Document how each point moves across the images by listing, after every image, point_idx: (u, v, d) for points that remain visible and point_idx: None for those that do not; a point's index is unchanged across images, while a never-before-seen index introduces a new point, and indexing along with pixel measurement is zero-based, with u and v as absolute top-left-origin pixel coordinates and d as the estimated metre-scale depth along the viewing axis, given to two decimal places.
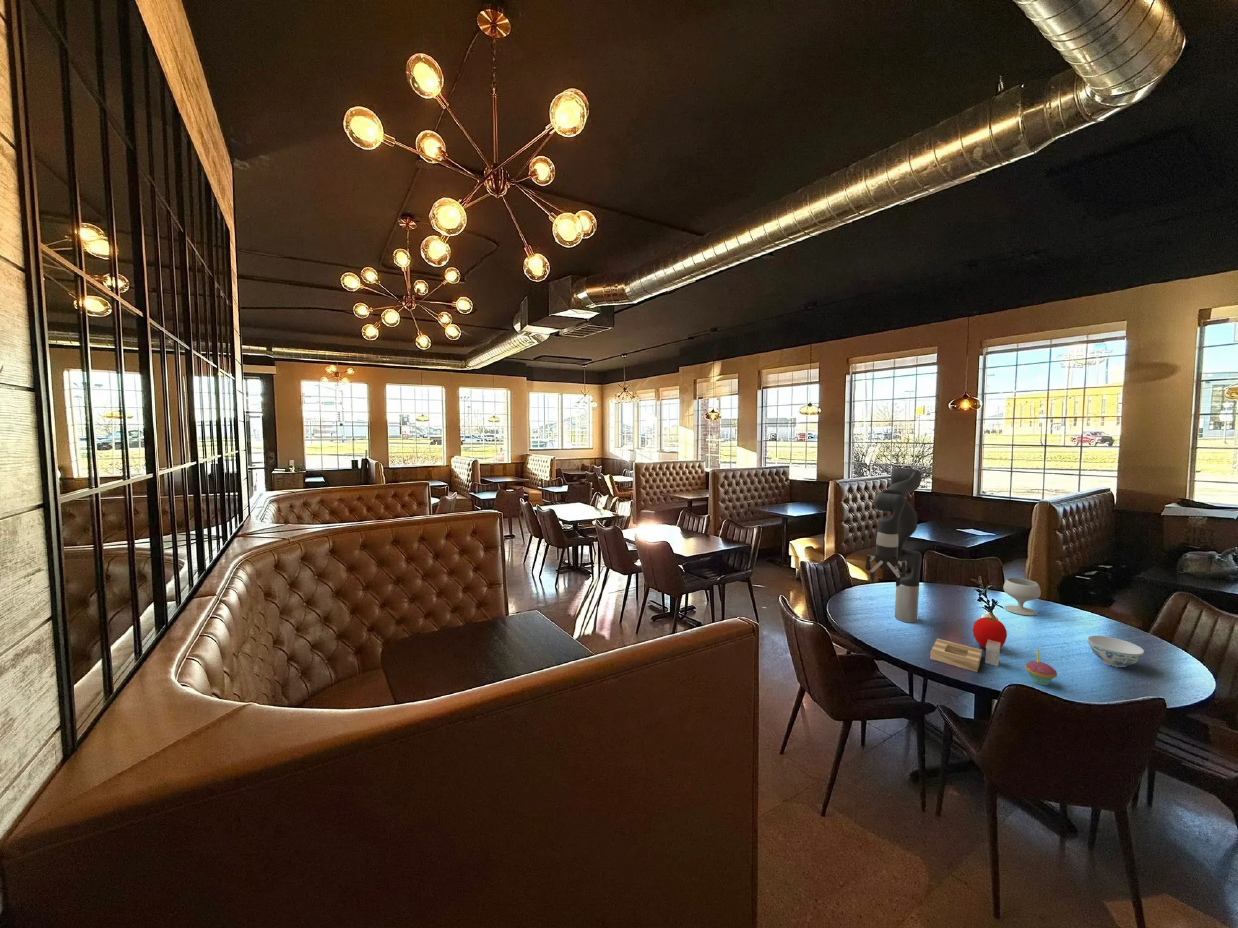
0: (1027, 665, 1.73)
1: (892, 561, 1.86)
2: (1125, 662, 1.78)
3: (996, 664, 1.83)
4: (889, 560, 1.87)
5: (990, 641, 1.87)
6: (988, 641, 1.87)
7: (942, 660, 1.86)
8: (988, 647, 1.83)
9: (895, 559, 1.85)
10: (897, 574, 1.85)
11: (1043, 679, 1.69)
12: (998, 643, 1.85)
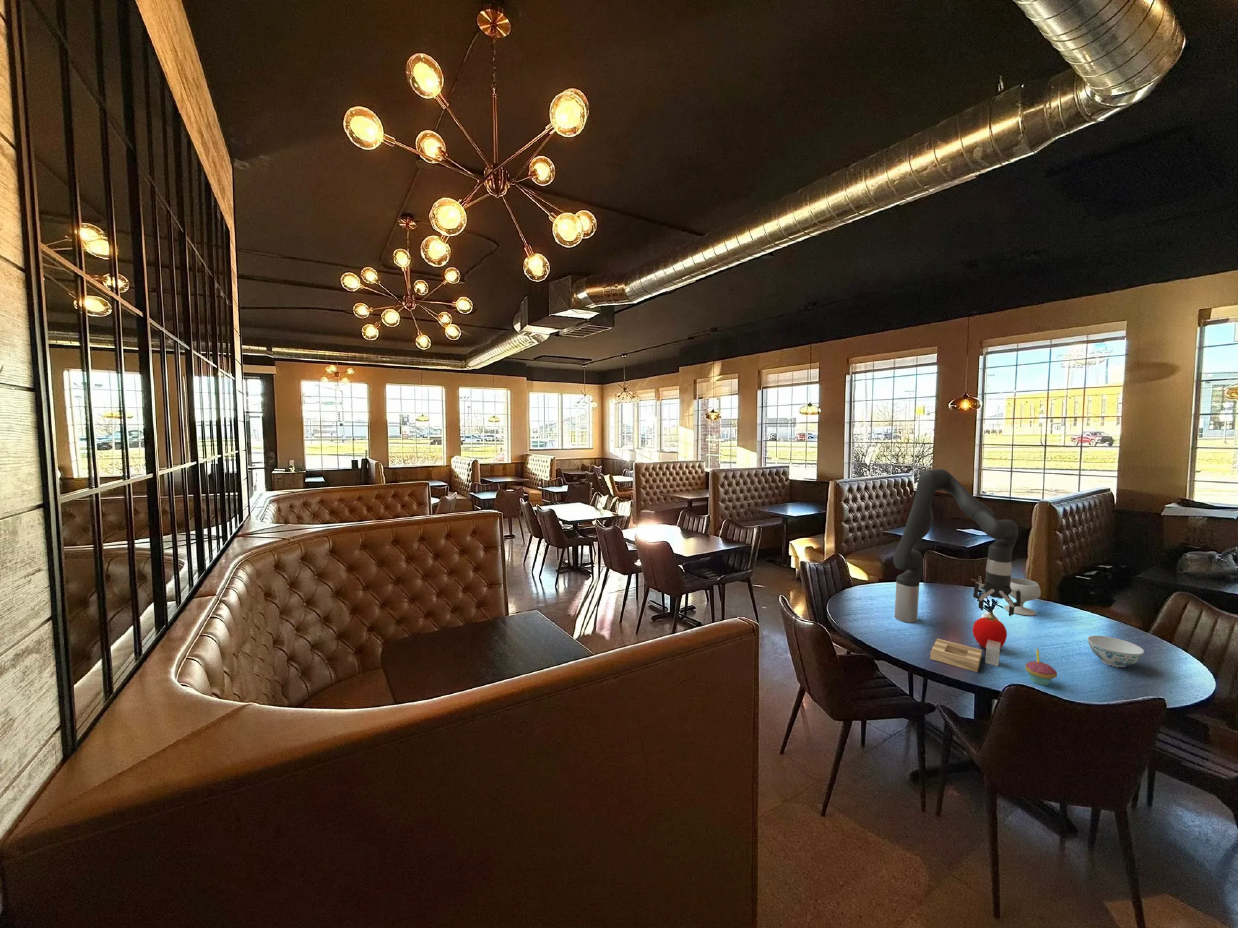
0: (1027, 665, 1.73)
1: (1005, 590, 1.80)
2: (1125, 662, 1.78)
3: (996, 664, 1.83)
4: (1001, 589, 1.81)
5: (990, 641, 1.87)
6: (988, 641, 1.87)
7: (942, 660, 1.86)
8: (988, 647, 1.83)
9: (1008, 588, 1.79)
10: (1011, 603, 1.79)
11: (1043, 679, 1.69)
12: (998, 643, 1.85)
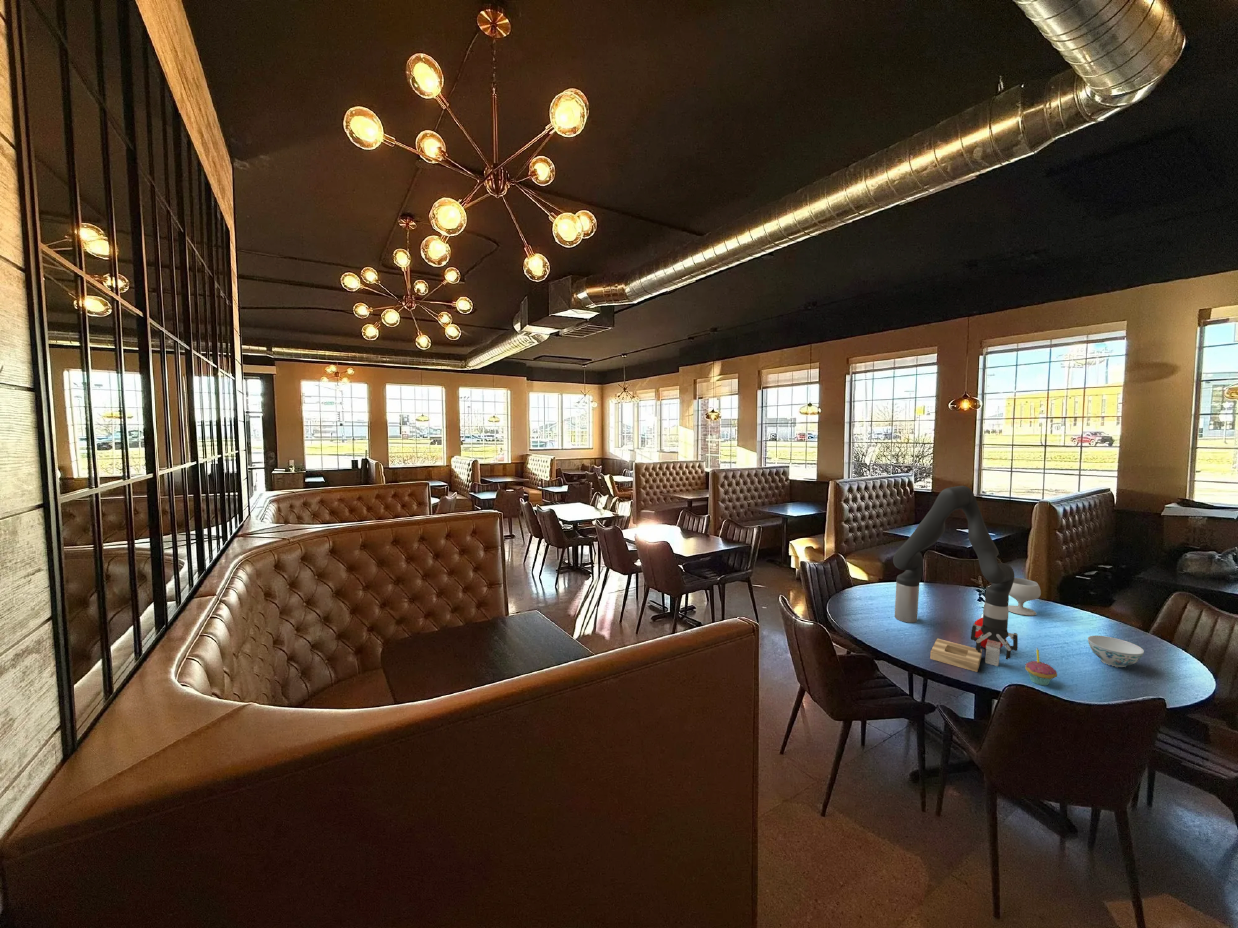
0: (1027, 665, 1.73)
1: (1002, 633, 1.82)
2: (1125, 662, 1.78)
3: (996, 664, 1.83)
4: (998, 632, 1.82)
5: (990, 641, 1.87)
6: (988, 641, 1.87)
7: (942, 660, 1.86)
8: (988, 647, 1.83)
9: (1005, 631, 1.81)
10: (1007, 647, 1.81)
11: (1043, 679, 1.69)
12: (998, 643, 1.85)
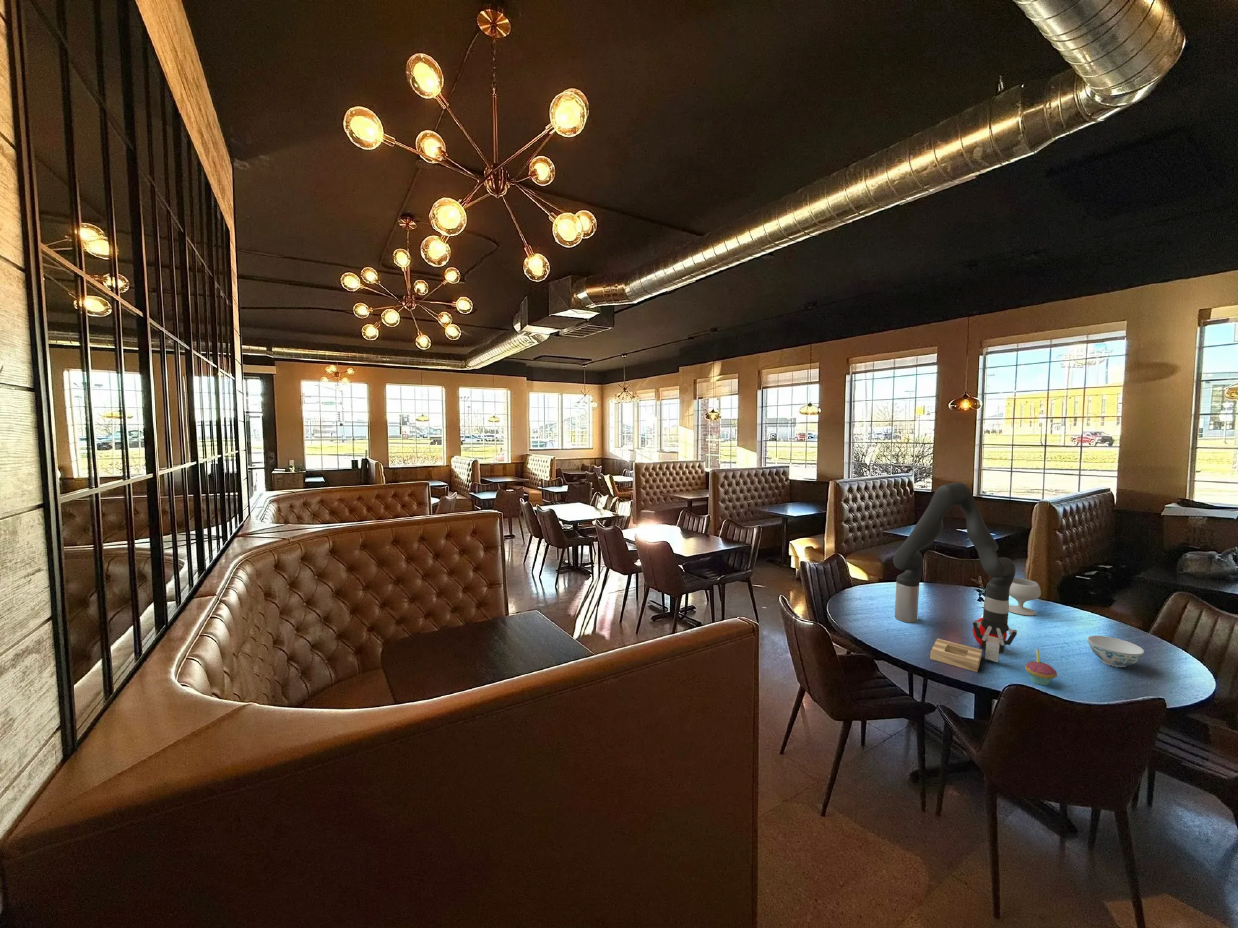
0: (1027, 665, 1.73)
1: (1002, 627, 1.82)
2: (1125, 662, 1.78)
3: (996, 660, 1.83)
4: (999, 626, 1.82)
5: (990, 637, 1.87)
6: (988, 637, 1.87)
7: (942, 660, 1.86)
8: (988, 643, 1.83)
9: (1005, 625, 1.81)
10: (1002, 641, 1.82)
11: (1043, 679, 1.69)
12: (998, 639, 1.85)
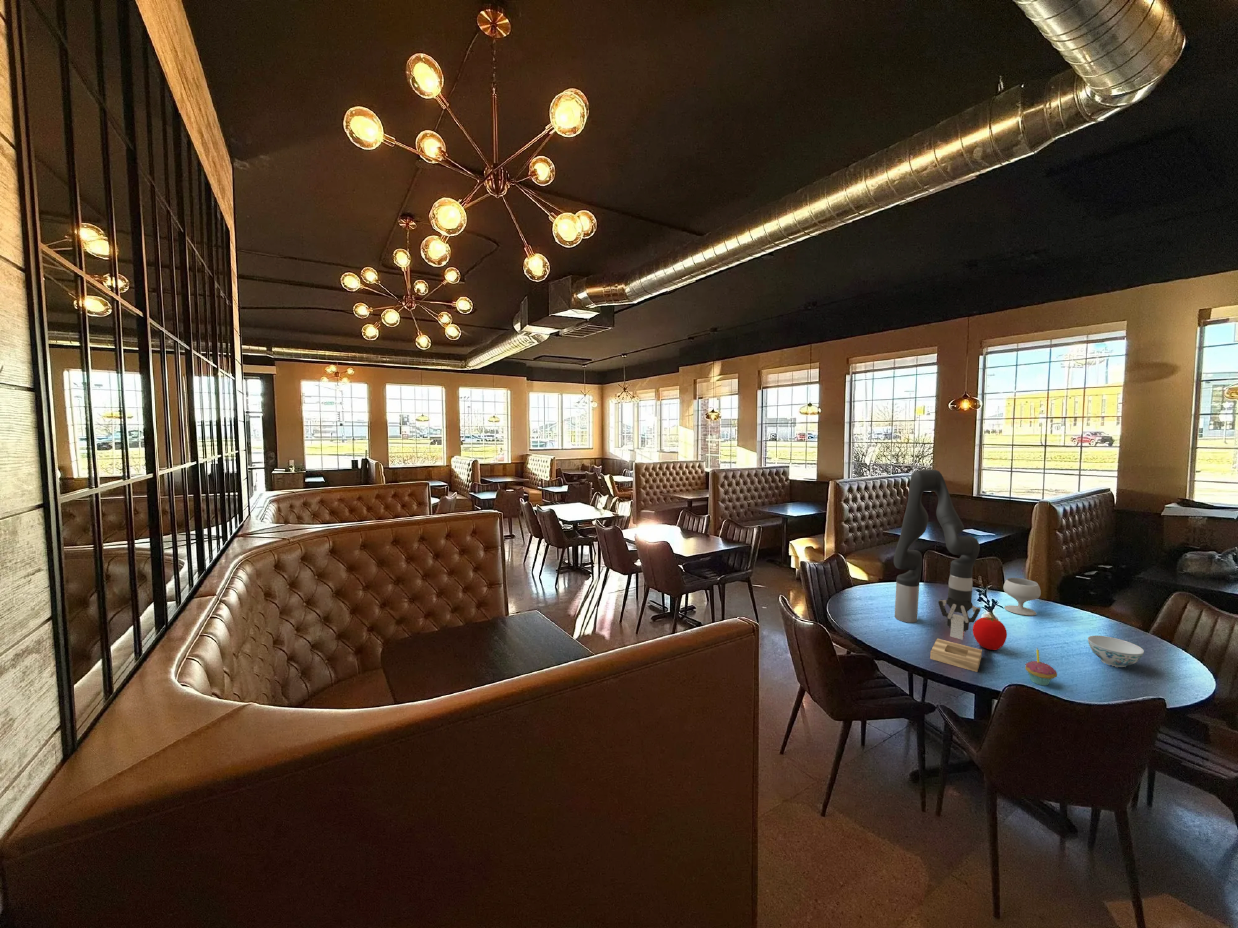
0: (1027, 665, 1.73)
1: (966, 604, 1.84)
2: (1125, 662, 1.78)
3: (960, 637, 1.86)
4: (963, 603, 1.85)
5: (956, 615, 1.90)
6: (954, 615, 1.90)
7: (942, 660, 1.86)
8: (953, 620, 1.86)
9: (969, 603, 1.84)
10: (966, 619, 1.85)
11: (1043, 679, 1.69)
12: (963, 617, 1.88)
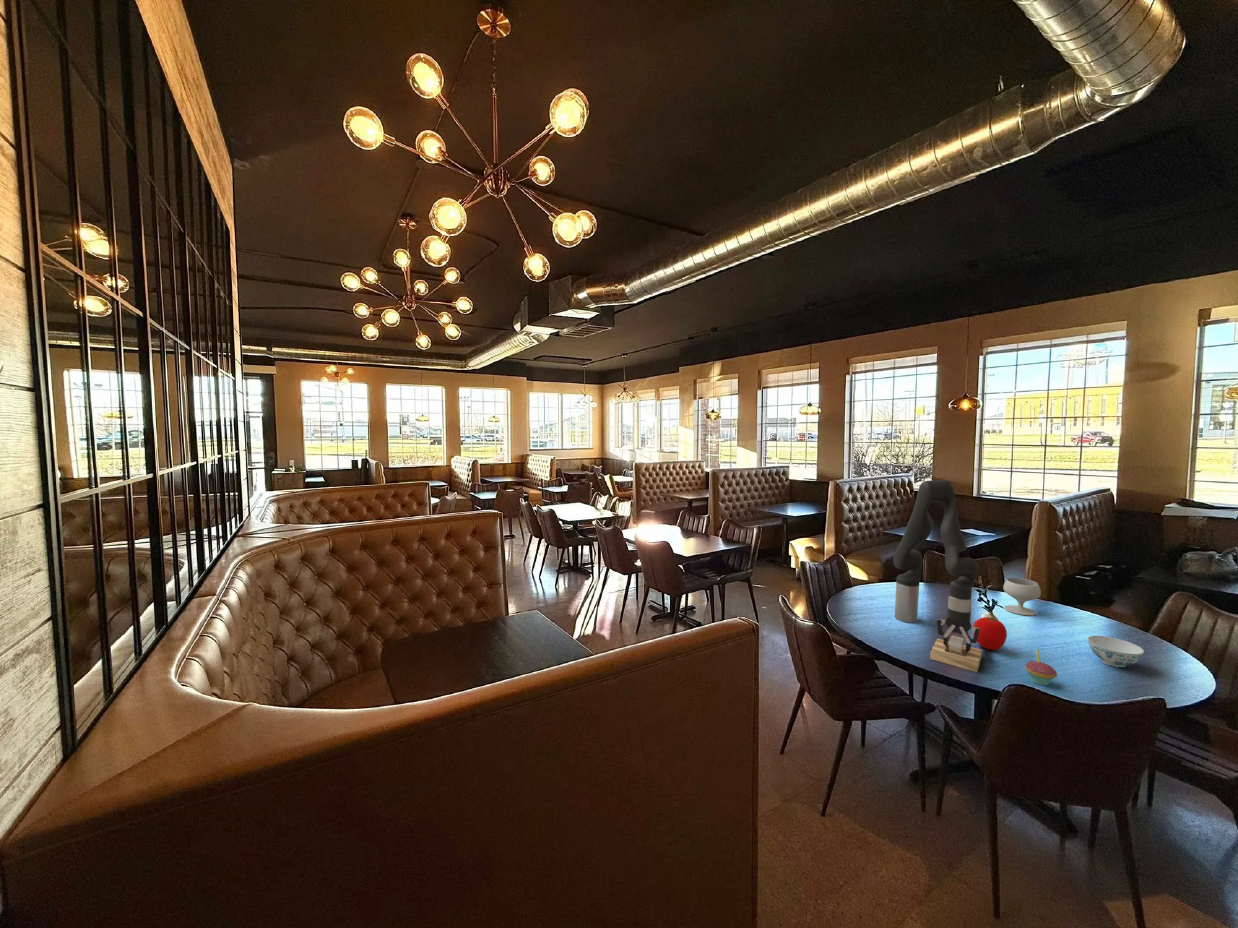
0: (1027, 665, 1.73)
1: (965, 625, 1.85)
2: (1125, 662, 1.78)
3: None
4: (962, 624, 1.86)
5: (954, 637, 1.91)
6: (952, 637, 1.91)
7: (942, 660, 1.86)
8: (951, 643, 1.87)
9: (968, 624, 1.85)
10: (968, 640, 1.85)
11: (1043, 679, 1.69)
12: (961, 639, 1.89)
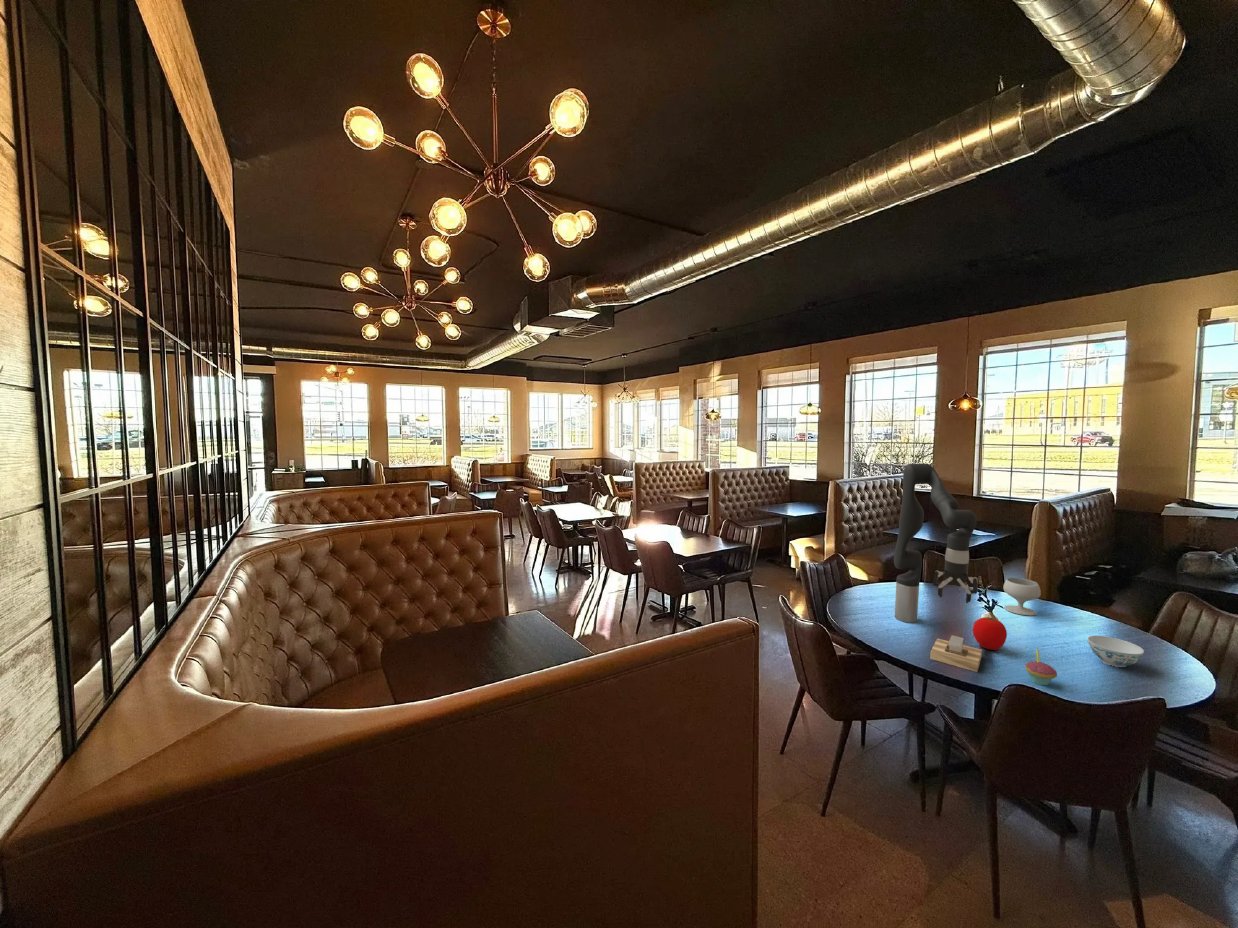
0: (1027, 665, 1.73)
1: (962, 577, 1.85)
2: (1125, 662, 1.78)
3: None
4: (959, 576, 1.86)
5: (954, 637, 1.91)
6: (952, 637, 1.91)
7: (942, 660, 1.86)
8: (951, 642, 1.87)
9: (966, 575, 1.85)
10: (968, 591, 1.84)
11: (1043, 679, 1.69)
12: (961, 639, 1.89)
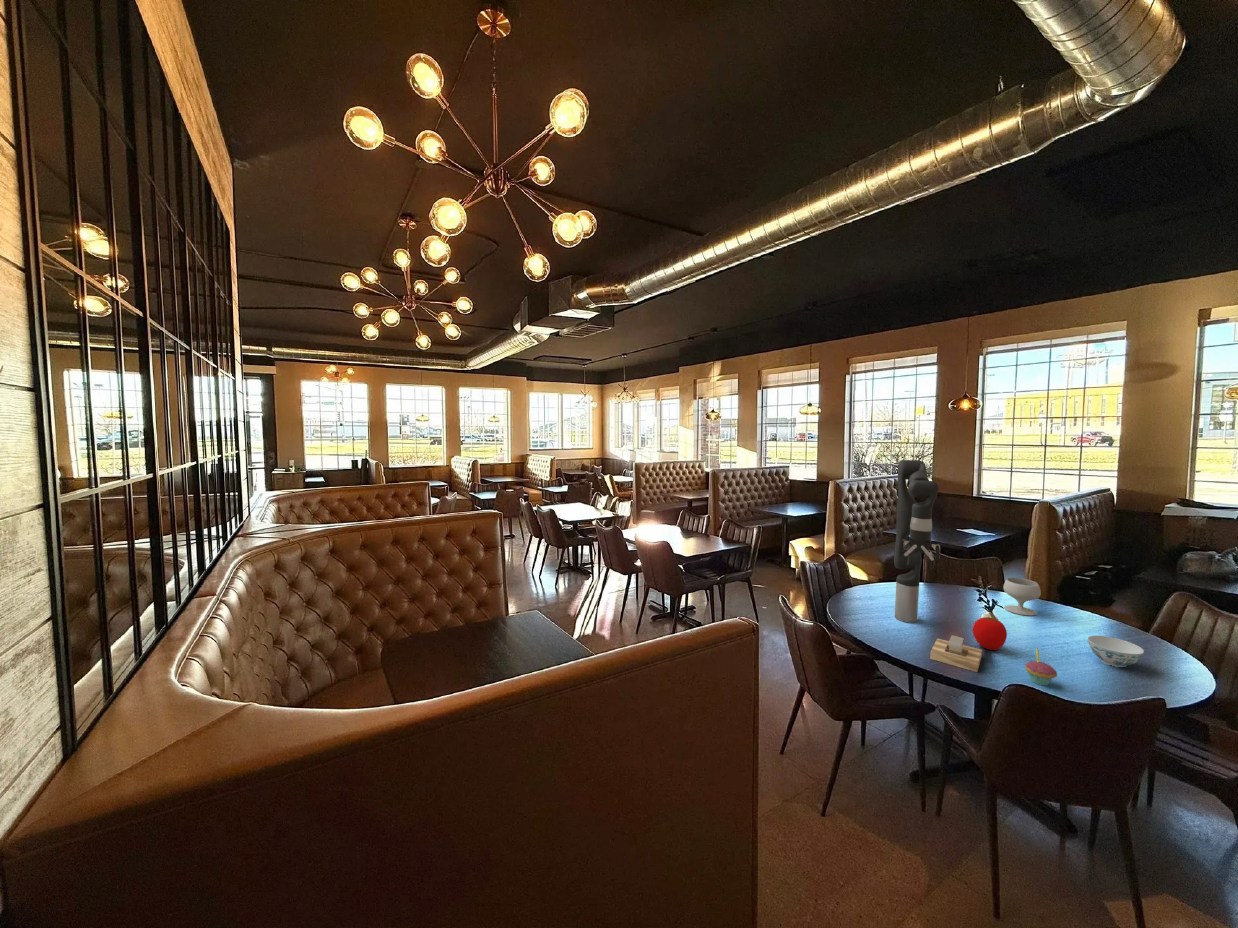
0: (1027, 665, 1.73)
1: (926, 545, 1.95)
2: (1125, 662, 1.78)
3: None
4: (923, 544, 1.96)
5: (954, 637, 1.91)
6: (952, 637, 1.91)
7: (942, 660, 1.86)
8: (951, 642, 1.87)
9: (929, 543, 1.95)
10: (931, 557, 1.94)
11: (1043, 679, 1.69)
12: (961, 639, 1.89)
